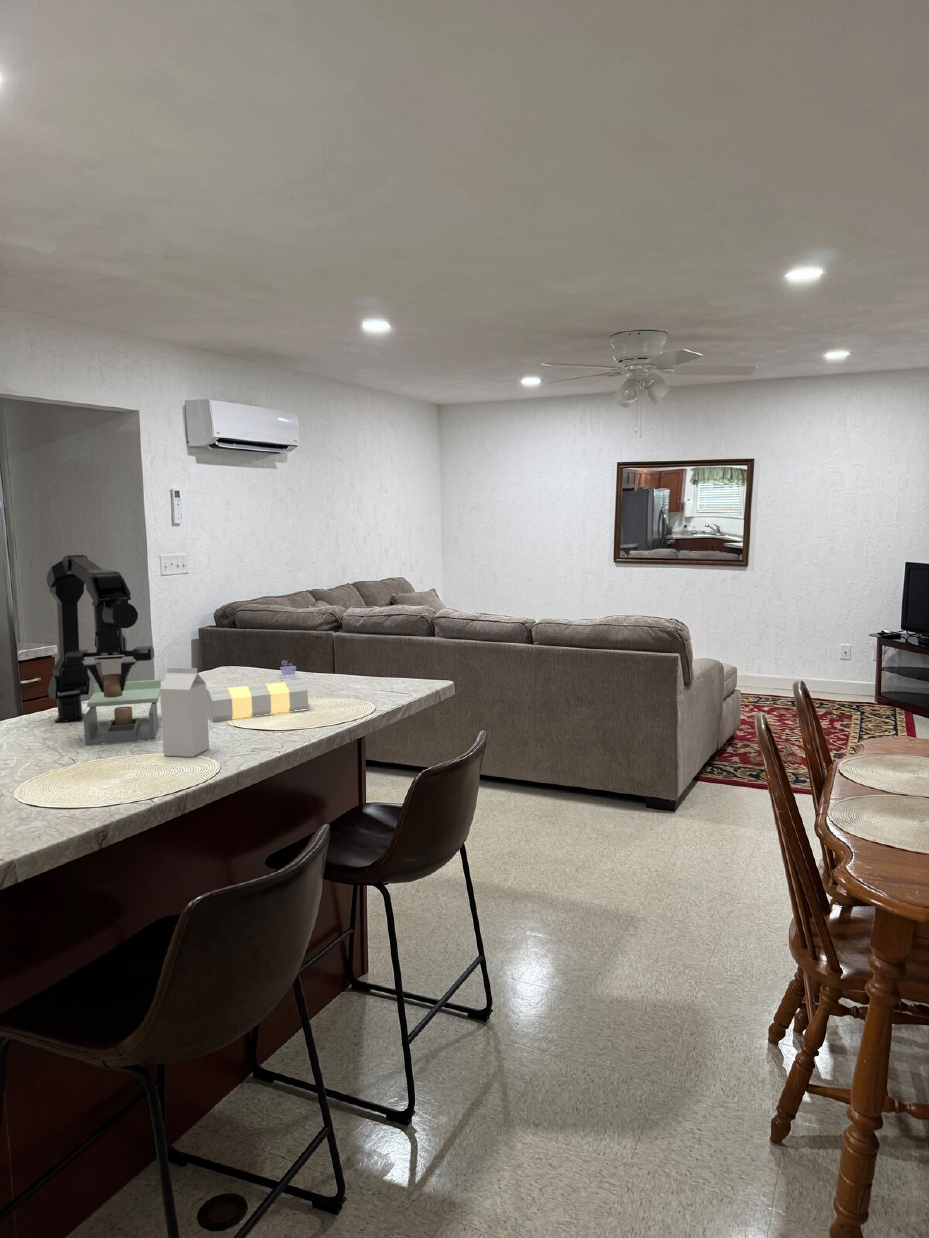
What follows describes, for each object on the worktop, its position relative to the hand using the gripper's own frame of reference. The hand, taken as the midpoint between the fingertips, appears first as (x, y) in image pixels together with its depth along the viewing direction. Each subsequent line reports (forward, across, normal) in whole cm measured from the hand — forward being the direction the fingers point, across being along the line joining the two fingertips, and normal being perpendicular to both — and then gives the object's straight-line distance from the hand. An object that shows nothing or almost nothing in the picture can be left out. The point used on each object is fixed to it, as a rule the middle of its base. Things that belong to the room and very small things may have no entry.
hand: (113, 691), depth 197 cm
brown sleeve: (+1, 0, 0) cm, 1 cm away
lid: (+4, 0, -14) cm, 15 cm away
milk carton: (+12, -18, +17) cm, 27 cm away
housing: (+11, -1, -3) cm, 12 cm away
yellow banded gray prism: (+12, -32, -19) cm, 39 cm away
